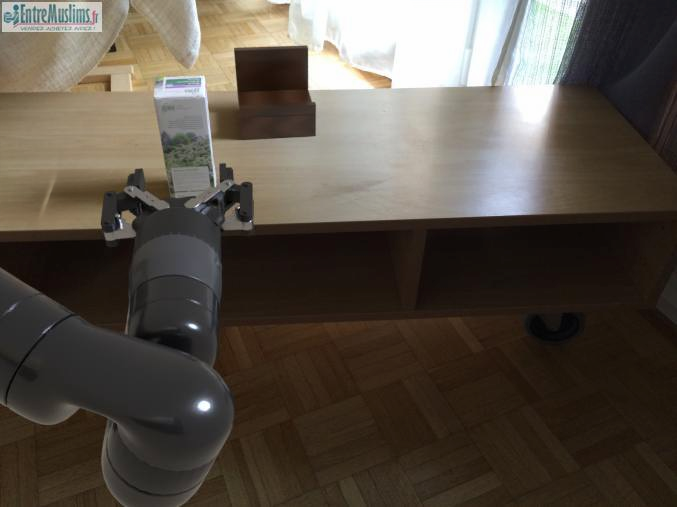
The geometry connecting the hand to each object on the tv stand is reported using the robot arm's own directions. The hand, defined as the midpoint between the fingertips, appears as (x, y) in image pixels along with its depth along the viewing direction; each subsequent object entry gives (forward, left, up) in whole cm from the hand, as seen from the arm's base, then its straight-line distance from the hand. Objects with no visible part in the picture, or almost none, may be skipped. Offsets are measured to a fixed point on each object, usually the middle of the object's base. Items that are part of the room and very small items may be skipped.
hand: (182, 173), depth 65 cm
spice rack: (+12, +29, -9) cm, 32 cm away
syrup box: (0, +11, -9) cm, 14 cm away
